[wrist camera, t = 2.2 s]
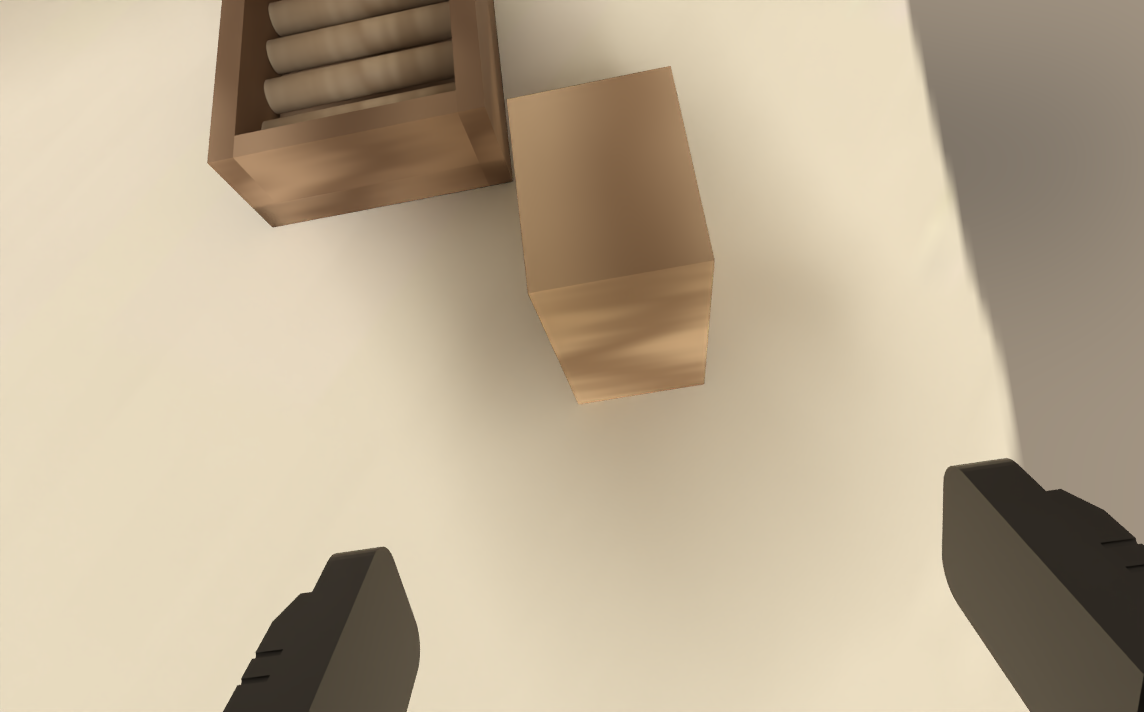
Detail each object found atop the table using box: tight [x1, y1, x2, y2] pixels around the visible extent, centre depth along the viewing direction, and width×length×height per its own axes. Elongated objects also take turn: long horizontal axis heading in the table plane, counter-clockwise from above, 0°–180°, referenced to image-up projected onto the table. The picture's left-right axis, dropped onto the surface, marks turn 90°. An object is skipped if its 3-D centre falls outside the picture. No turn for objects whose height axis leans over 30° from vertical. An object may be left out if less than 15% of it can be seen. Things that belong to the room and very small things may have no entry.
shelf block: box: [507, 66, 714, 404], centre depth 22 cm, size 4×6×9 cm
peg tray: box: [207, 0, 513, 227], centre depth 30 cm, size 10×12×4 cm
